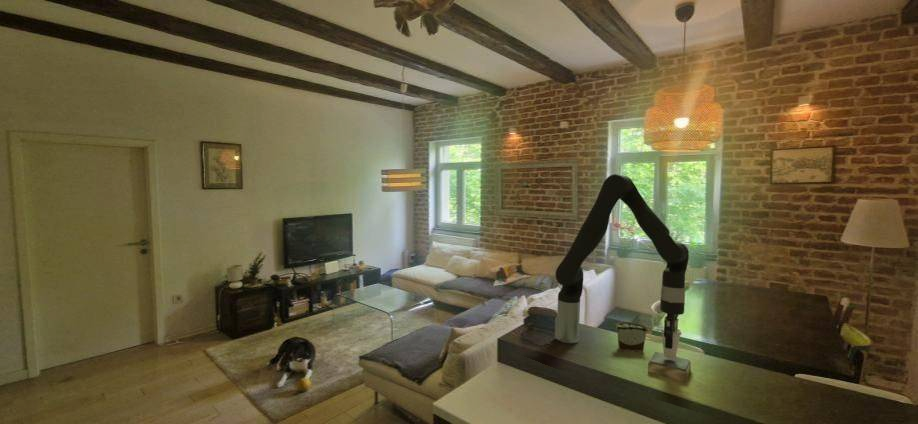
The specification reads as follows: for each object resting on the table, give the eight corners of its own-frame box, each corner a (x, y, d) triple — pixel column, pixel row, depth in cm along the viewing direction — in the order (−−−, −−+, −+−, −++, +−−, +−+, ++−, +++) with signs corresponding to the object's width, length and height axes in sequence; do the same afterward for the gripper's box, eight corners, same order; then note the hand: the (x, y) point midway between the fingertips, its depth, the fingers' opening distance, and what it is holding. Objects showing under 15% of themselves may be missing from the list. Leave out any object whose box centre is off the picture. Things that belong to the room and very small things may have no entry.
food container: (641, 345, 163) (642, 322, 162) (647, 351, 157) (648, 327, 156) (611, 344, 164) (612, 320, 164) (615, 349, 158) (616, 325, 158)
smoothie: (672, 361, 135) (674, 321, 134) (655, 354, 140) (657, 316, 140) (684, 358, 138) (686, 319, 137) (667, 351, 143) (669, 314, 143)
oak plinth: (647, 371, 138) (648, 360, 138) (653, 361, 147) (654, 351, 147) (686, 382, 131) (687, 370, 131) (690, 370, 140) (691, 359, 140)
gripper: (664, 293, 146) (662, 337, 147) (656, 301, 134) (654, 348, 135) (687, 296, 141) (684, 342, 142) (681, 305, 130) (679, 354, 131)
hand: (670, 345), depth 139 cm, fingers closed on smoothie, 6 cm apart
